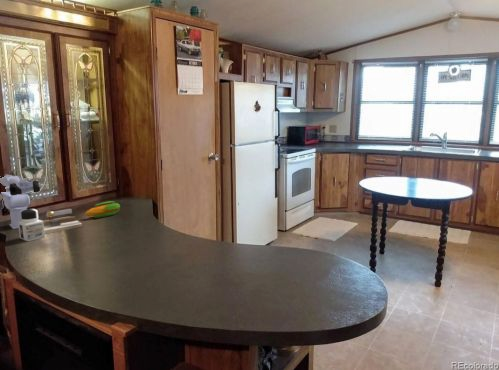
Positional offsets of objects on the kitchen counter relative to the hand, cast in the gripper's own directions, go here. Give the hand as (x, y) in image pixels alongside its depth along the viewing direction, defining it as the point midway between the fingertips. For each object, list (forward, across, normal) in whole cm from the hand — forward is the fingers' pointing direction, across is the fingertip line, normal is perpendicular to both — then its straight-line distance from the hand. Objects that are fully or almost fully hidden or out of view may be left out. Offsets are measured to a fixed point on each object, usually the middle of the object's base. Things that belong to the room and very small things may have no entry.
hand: (30, 190), depth 176 cm
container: (+6, -3, +21) cm, 22 cm away
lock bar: (-8, +15, +16) cm, 24 cm away
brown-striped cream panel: (-4, +13, +21) cm, 24 cm away
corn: (-4, +37, +21) cm, 42 cm away
